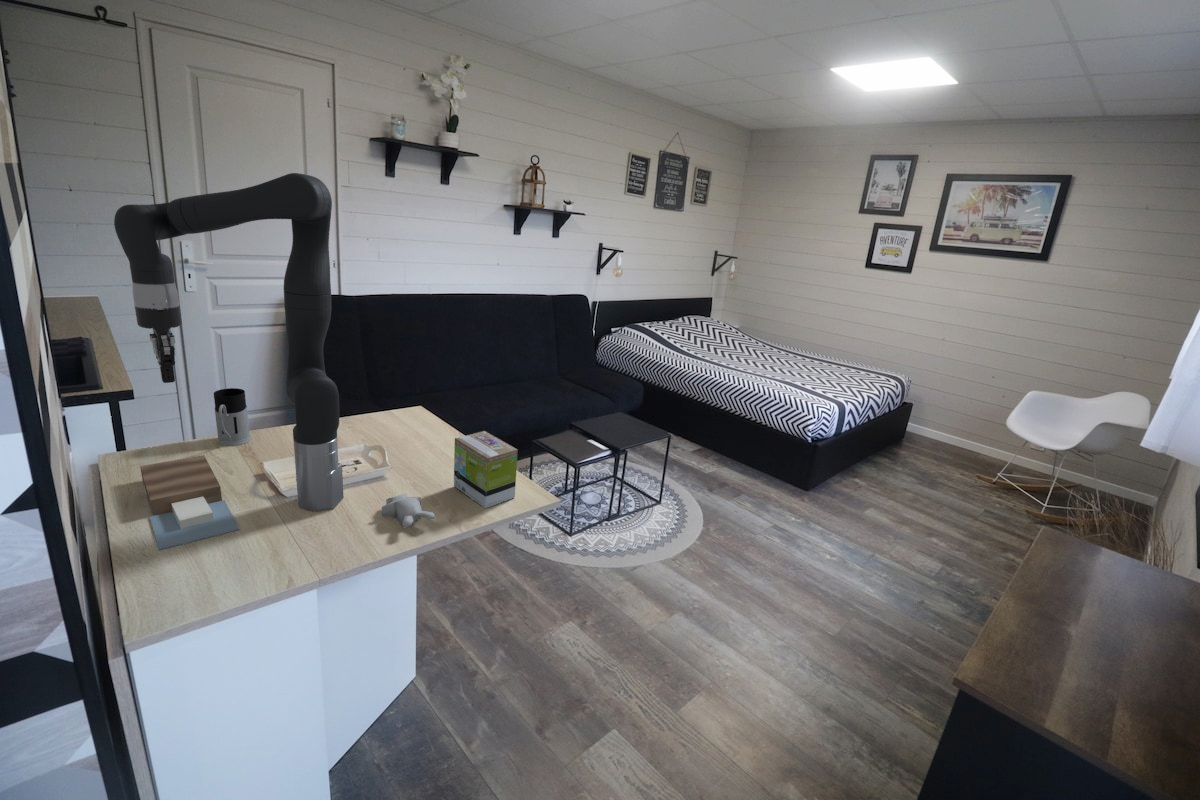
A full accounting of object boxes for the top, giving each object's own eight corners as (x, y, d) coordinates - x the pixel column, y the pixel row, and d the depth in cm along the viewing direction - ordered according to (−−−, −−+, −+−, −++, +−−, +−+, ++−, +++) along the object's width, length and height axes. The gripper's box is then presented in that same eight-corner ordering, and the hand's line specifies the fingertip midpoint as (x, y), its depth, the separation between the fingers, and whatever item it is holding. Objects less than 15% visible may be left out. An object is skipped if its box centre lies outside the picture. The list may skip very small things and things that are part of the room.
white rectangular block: (172, 511, 125) (171, 503, 125) (204, 503, 129) (203, 496, 129) (180, 528, 119) (179, 520, 119) (213, 520, 124) (212, 512, 123)
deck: (142, 480, 137) (140, 466, 136) (206, 469, 146) (204, 455, 144) (152, 516, 123) (150, 500, 122) (222, 500, 132) (220, 485, 131)
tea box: (452, 487, 150) (453, 436, 145) (483, 477, 157) (485, 429, 153) (484, 510, 141) (487, 456, 136) (516, 498, 148) (519, 447, 143)
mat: (150, 517, 123) (149, 516, 123) (224, 501, 132) (224, 500, 132) (159, 550, 112) (158, 548, 112) (239, 529, 122) (239, 528, 122)
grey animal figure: (411, 486, 140) (439, 505, 129) (412, 505, 141) (440, 525, 131) (374, 496, 134) (400, 516, 123) (375, 515, 135) (401, 537, 124)
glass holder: (255, 434, 169) (250, 387, 164) (242, 453, 156) (237, 403, 151) (221, 435, 166) (216, 387, 161) (206, 454, 153) (199, 403, 148)
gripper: (131, 298, 119) (143, 375, 125) (137, 310, 110) (150, 392, 116) (174, 298, 124) (184, 372, 130) (184, 309, 115) (194, 388, 121)
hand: (168, 381), depth 123 cm, fingers closed
